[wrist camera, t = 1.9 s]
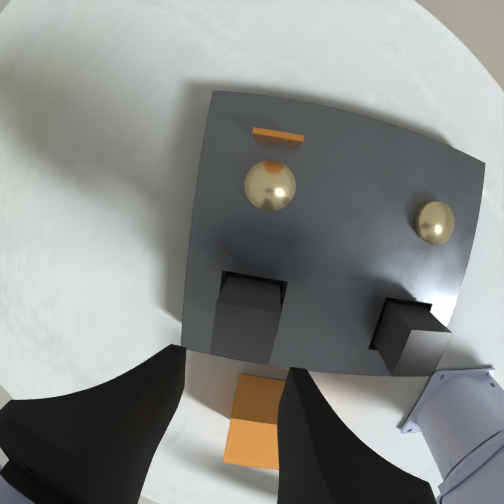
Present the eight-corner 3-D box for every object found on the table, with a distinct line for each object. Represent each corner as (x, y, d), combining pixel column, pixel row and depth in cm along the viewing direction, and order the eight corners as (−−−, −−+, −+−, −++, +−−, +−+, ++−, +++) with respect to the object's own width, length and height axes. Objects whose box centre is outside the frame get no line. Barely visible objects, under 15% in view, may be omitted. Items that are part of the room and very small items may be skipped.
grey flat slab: (465, 163, 16) (503, 162, 11) (412, 359, 20) (434, 391, 15) (221, 102, 16) (204, 78, 12) (190, 330, 20) (171, 364, 16)
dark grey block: (279, 284, 17) (280, 313, 13) (270, 328, 17) (268, 365, 14) (229, 275, 17) (216, 301, 13) (223, 319, 18) (210, 354, 14)
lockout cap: (312, 383, 21) (318, 428, 16) (294, 429, 22) (295, 470, 17) (239, 373, 21) (230, 417, 16) (230, 420, 22) (222, 462, 17)
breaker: (423, 305, 16) (451, 332, 12) (408, 344, 17) (431, 376, 13) (386, 300, 16) (411, 329, 13) (372, 341, 17) (391, 376, 13)
